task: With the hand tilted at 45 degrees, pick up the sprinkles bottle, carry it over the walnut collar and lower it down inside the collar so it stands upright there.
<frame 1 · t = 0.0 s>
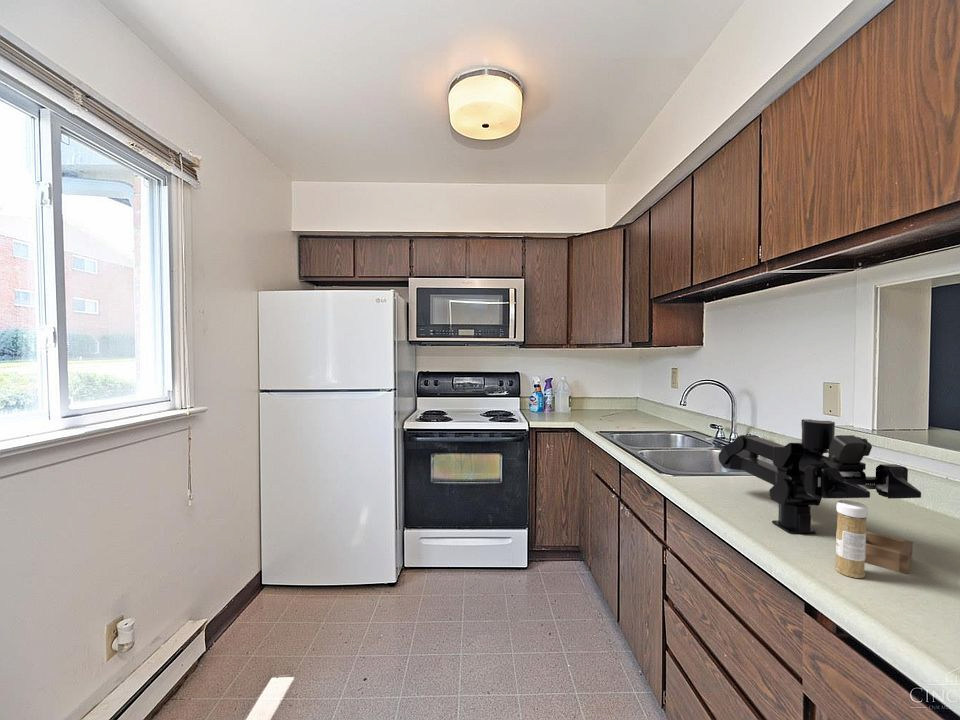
hand: (894, 494, 81), 17 cm above the worktop, tool horizontal, fingers open, 9 cm apart
sprinkles bottle: (849, 574, 86), on the worktop
walnut collar: (879, 558, 92), on the worktop
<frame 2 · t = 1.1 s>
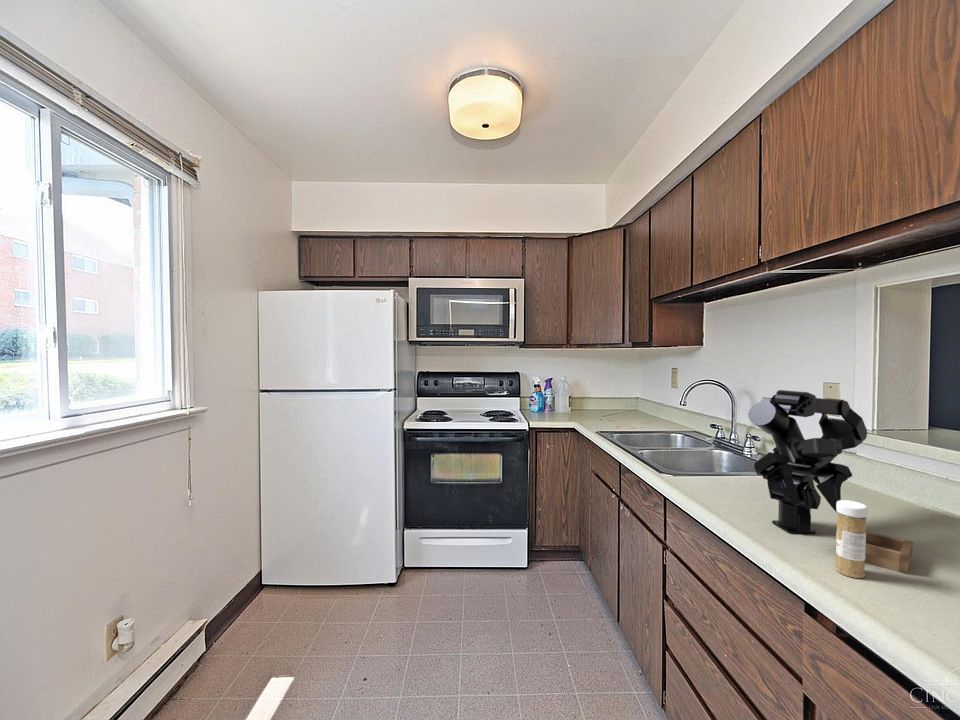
hand: (818, 507, 92), 10 cm above the worktop, tool tilted 45°, fingers open, 9 cm apart
nothing on the worktop moved.
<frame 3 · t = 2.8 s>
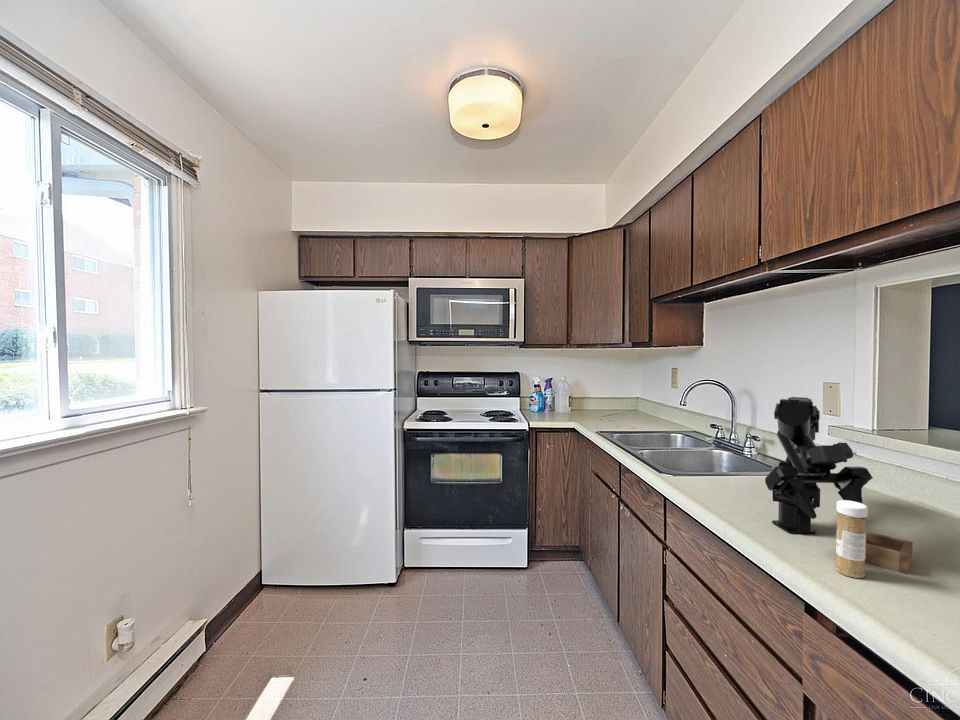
hand: (838, 518, 88), 10 cm above the worktop, tool tilted 45°, fingers open, 9 cm apart
nothing on the worktop moved.
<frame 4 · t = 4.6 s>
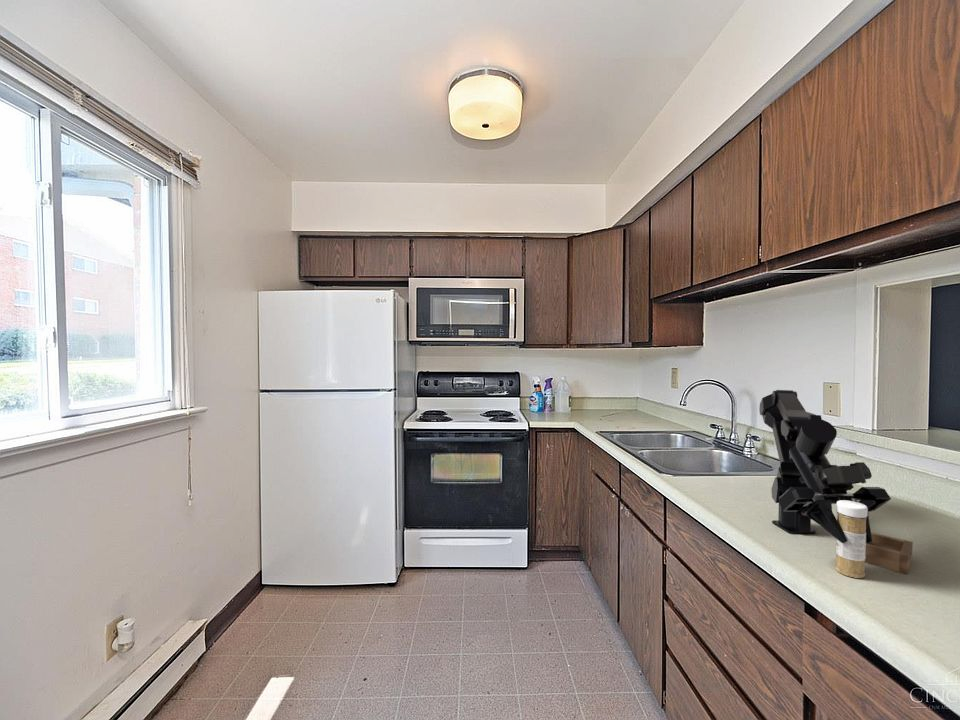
hand: (857, 542, 84), 7 cm above the worktop, tool tilted 45°, fingers closed on sprinkles bottle, 4 cm apart
sprinkles bottle: (849, 574, 86), on the worktop, touching gripper
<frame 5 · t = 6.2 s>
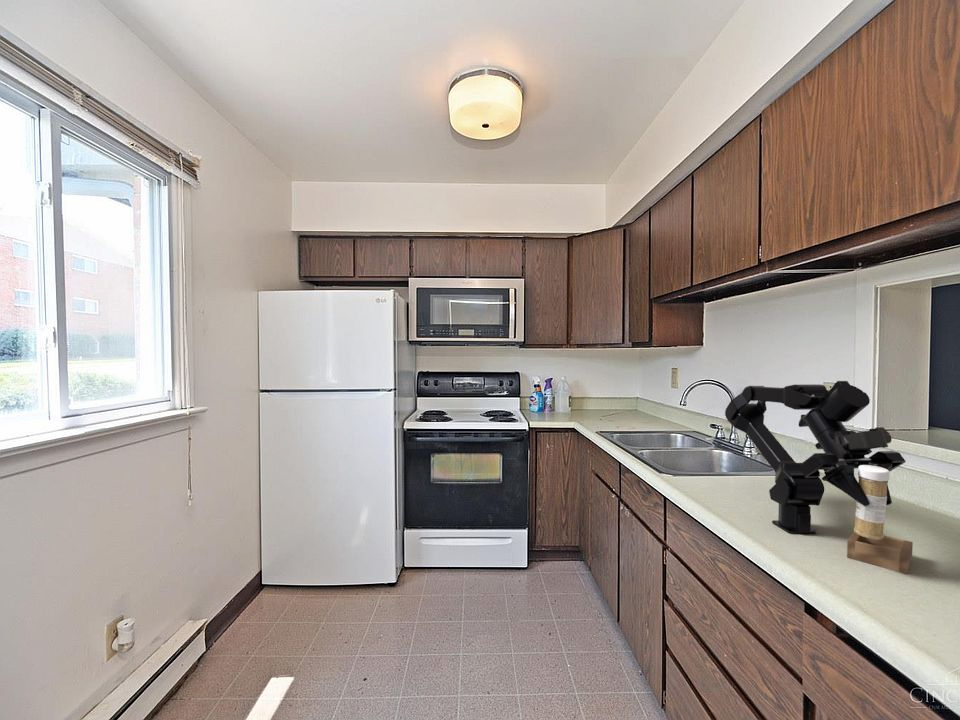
hand: (878, 504, 86), 13 cm above the worktop, tool tilted 40°, fingers closed on sprinkles bottle, 4 cm apart
sprinkles bottle: (868, 536, 88), point 6 cm above the worktop, touching gripper
when the fingers open (8 cm above the worktop, at t = 8.3 s): sprinkles bottle drops 1 cm, resting in walnut collar.
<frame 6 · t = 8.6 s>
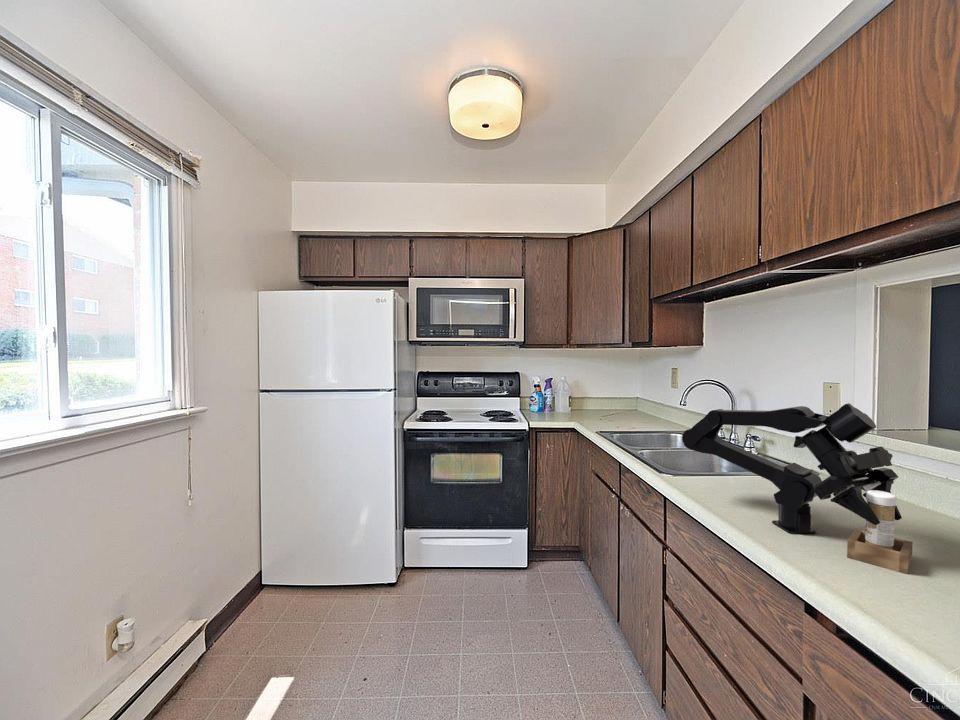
hand: (888, 521, 90), 8 cm above the worktop, tool tilted 45°, fingers open, 7 cm apart
sprinkles bottle: (878, 558, 92), resting in walnut collar
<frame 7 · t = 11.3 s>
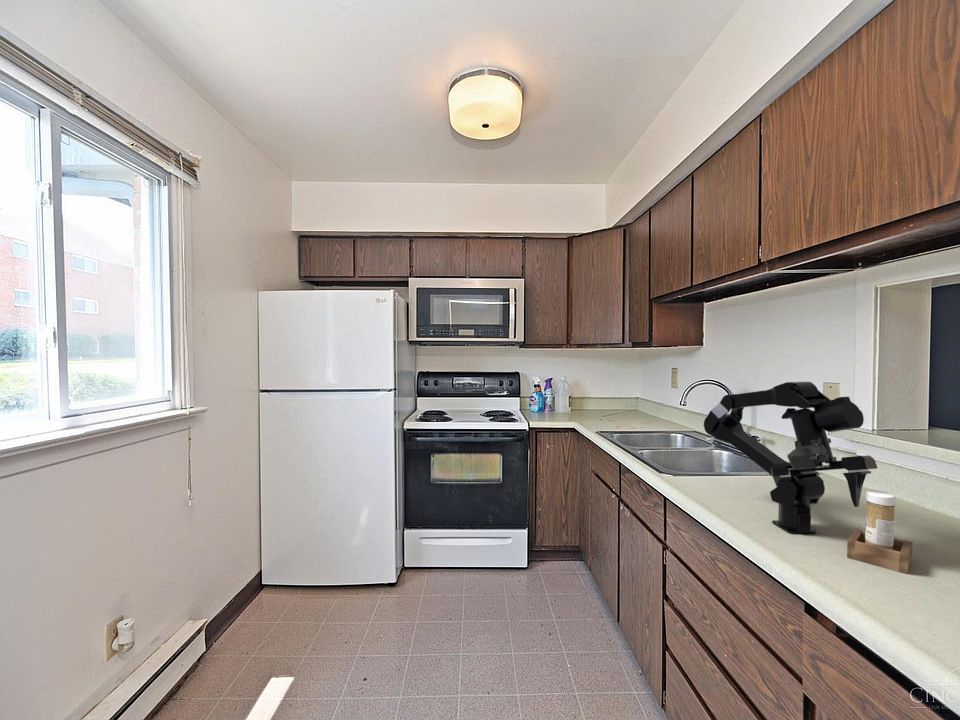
hand: (831, 507, 98), 8 cm above the worktop, tool tilted 20°, fingers open, 9 cm apart
nothing on the worktop moved.
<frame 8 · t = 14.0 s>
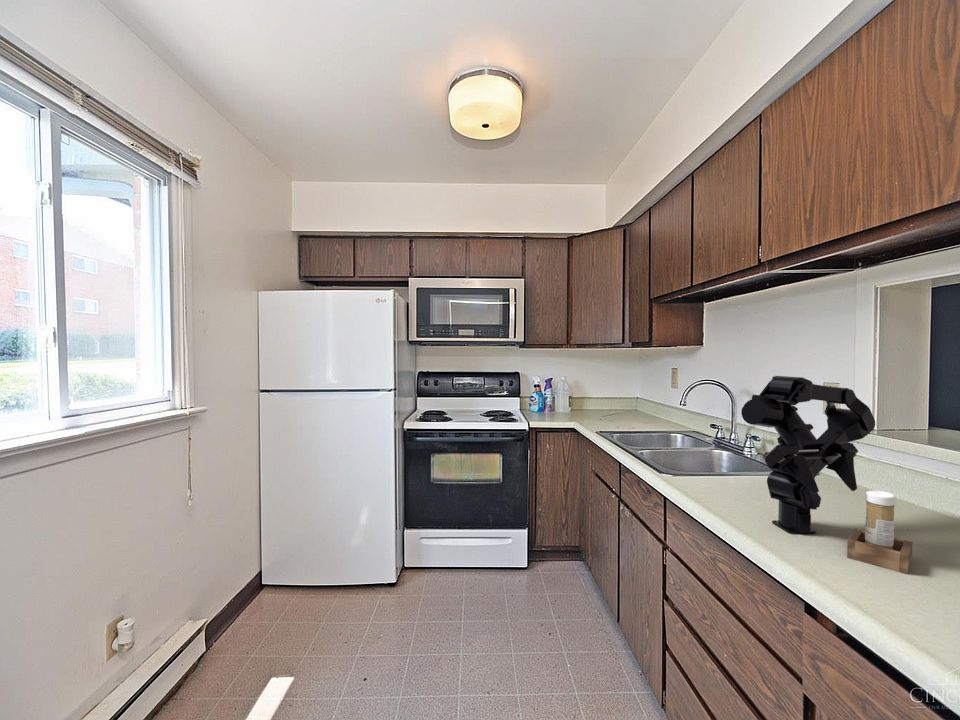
hand: (835, 491, 92), 14 cm above the worktop, tool tilted 45°, fingers open, 9 cm apart
nothing on the worktop moved.
at the end: sprinkles bottle 0.1 cm from the walnut collar (horizontally); sprinkles bottle resting in walnut collar; sprinkles bottle tilted 0° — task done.
